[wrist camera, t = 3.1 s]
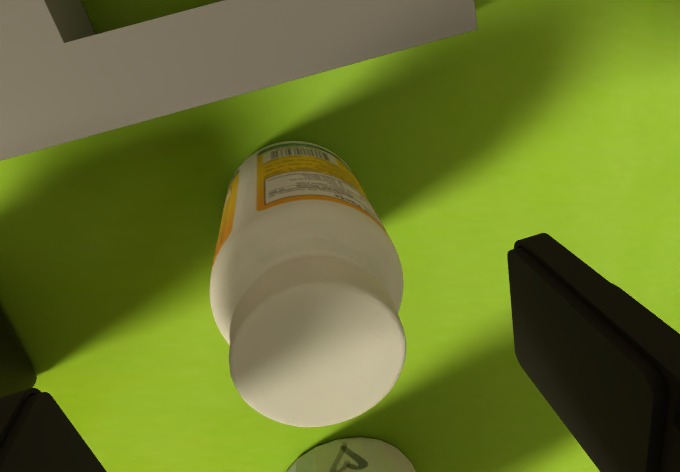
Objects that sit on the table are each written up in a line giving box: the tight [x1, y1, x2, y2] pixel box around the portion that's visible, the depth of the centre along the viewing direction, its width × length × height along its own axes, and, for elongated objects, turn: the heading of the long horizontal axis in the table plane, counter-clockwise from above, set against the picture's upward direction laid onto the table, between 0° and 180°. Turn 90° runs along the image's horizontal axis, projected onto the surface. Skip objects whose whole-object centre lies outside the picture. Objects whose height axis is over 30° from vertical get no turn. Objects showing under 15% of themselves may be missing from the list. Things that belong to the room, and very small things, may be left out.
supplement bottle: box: [210, 141, 406, 427], centre depth 15 cm, size 5×5×10 cm
